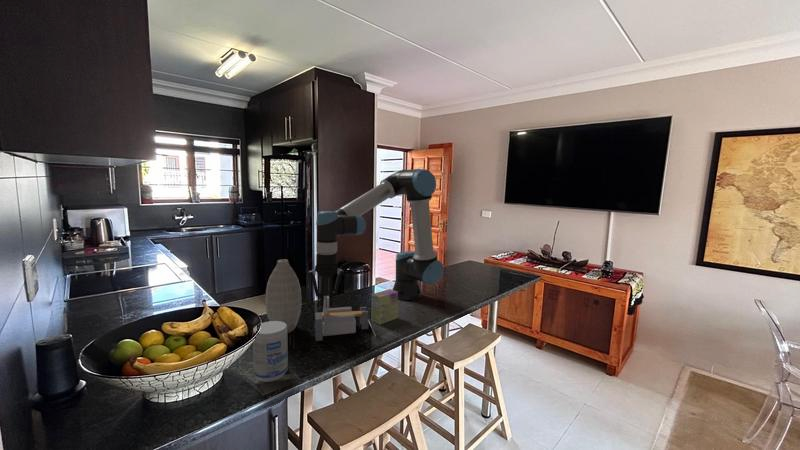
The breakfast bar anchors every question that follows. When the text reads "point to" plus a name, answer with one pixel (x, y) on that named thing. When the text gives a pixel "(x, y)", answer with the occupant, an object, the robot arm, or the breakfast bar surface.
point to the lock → (319, 326)
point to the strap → (344, 313)
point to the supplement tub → (270, 351)
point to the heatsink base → (344, 322)
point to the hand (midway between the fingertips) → (326, 313)
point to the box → (384, 306)
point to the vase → (283, 295)
